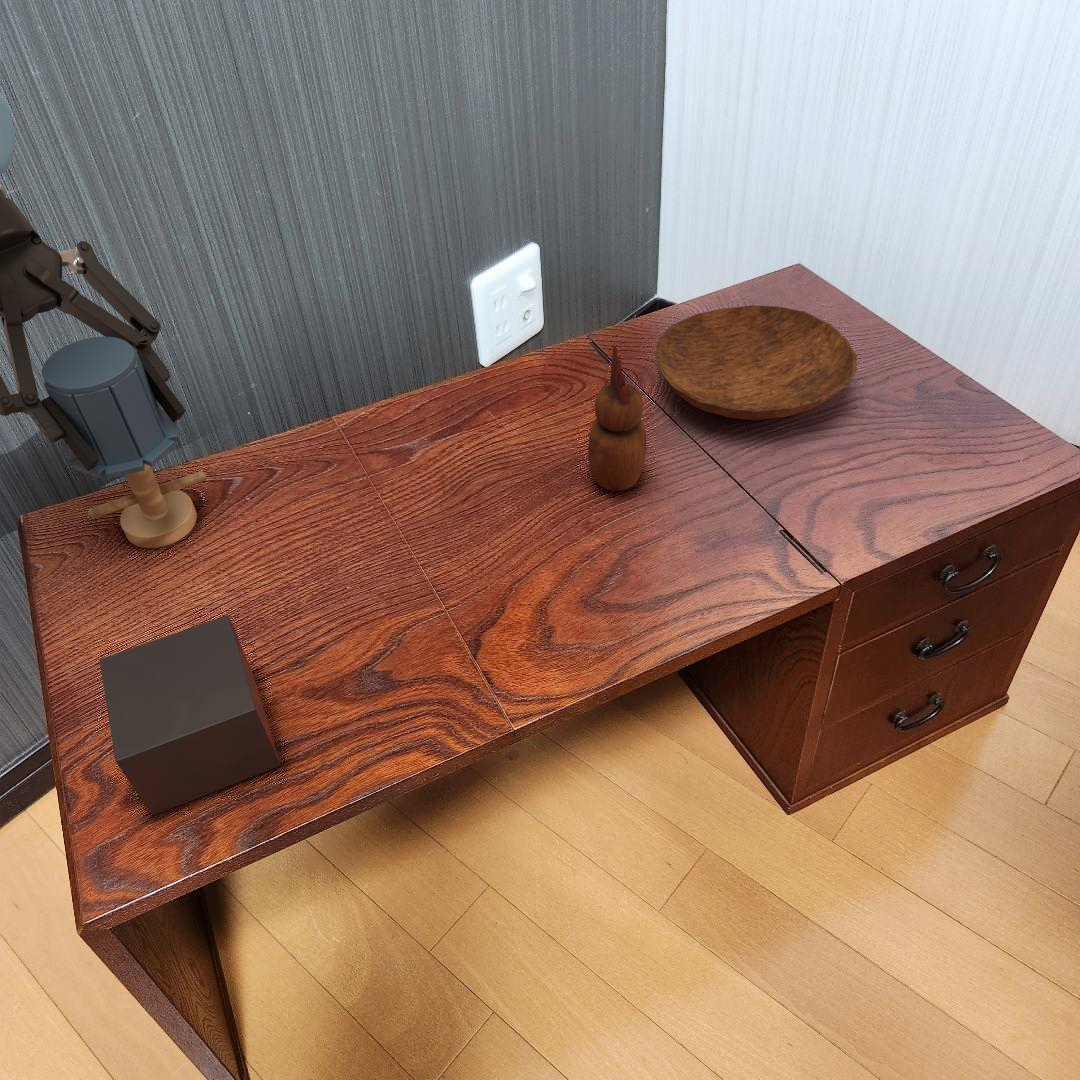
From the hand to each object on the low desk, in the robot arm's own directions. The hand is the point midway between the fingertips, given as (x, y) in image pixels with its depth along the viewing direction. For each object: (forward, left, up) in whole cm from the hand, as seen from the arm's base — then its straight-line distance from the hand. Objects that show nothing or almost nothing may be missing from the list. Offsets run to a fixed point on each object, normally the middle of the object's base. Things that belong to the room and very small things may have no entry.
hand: (137, 440), depth 83 cm
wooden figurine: (+36, +26, -13) cm, 46 cm away
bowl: (+44, +46, -13) cm, 65 cm away
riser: (+18, -17, -13) cm, 28 cm away
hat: (-3, +1, -2) cm, 4 cm away
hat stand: (-3, +1, -13) cm, 13 cm away
